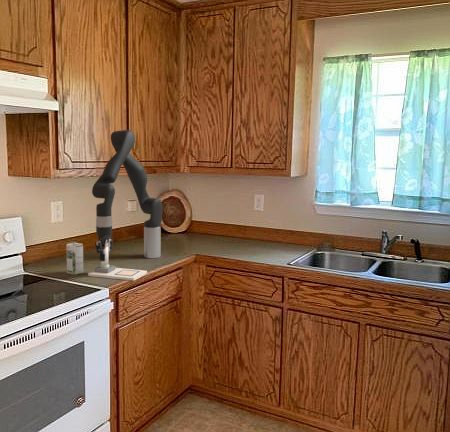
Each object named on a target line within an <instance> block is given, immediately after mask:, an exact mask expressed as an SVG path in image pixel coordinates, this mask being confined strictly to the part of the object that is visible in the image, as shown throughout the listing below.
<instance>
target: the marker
mask: <svg viewBox="0 0 450 432" xmlns="http://www.w3.org/2000/svg"><path fill="white" fill-rule="evenodd" d="M102 247H104V246H102ZM102 250H103V249H102ZM104 254H105V261H100V265H108V264H109V265H110V263H109V262H110V261H109V259H108V243H107V244H106V249H105V253H104Z"/></svg>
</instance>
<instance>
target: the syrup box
mask: <svg viewBox="0 0 450 432" xmlns="http://www.w3.org/2000/svg"><path fill="white" fill-rule="evenodd" d="M66 273H67V274H70V275H78V274H79V275H80V274H83V273H84V245H83V243H80V242H79V243H78V242H69V243H66Z"/></svg>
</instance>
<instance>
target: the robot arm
mask: <svg viewBox="0 0 450 432" xmlns="http://www.w3.org/2000/svg"><path fill="white" fill-rule="evenodd" d="M110 142H111V145H112V147H113V149H114V151H115V154H114V155H113V156H112V157H111V158H110V159H109V160H108V161H107V162H106V164H105V167H104V168H103V172H102V174H101V175H100V176H99V178H98V179H97V180H96V181H95V183H94V184H93V186H92V189H91V193H92V196H93V197H94V198H96V199H103V202H101V203H98V204H96V205H95V206H96V210H95V211H96V213H95V214H96V218H95V230H96V231H95V233H96V235H97V236H98V239H97V241H95V242H94V245H95V250H96V254H99V260H100V262H101V261H105V254H104V253H105V249H106V244H107V243H108V260H110V252H111V250H112V249H113V243H114V237H111V236H112V235H113V218H112V217H113V216H112V207H113V204H114V203H113V202H114V198H115V193H116V189H115V187H114V185H113V184H114V183H115V182H116V180H117V178H118V176H119V173H120V171H121V168H122V166H123V168H124V169H125V172H126V174H127V176H128V179H129V181H130V183H131V185H132V188H133V189H134V193H135V195H136V197H137V200H138V203H139V204H138V205H139V207H140V209H141V211H142V213H144V214H146V215H149V216H150V217H149V219H148V220H145V221H144V222H143V242H144V243H143V249H144V250H143V253H144V254H143V257H144V258H146V259H147V258H148V259H158V258H161V256H162V255H161V254H162V253H161V252H162V251H161V247H162V245H161V244H162V241H161V240H162V237H161V235H162V232H161V230H162V229H161V227H162V225H161V224H162V221H163V203H162V200H161V198H160V199H159V198H157V197H150V196H149V194H148V192H147V183H148V175H147V173H146V170H145V168H144V166H143V164H142V163H140V161H139V160H137V159H136V158H135V157H134V156H133V155H132V154H131V151H132V149H133V148H134V146H135V142H136V136H135V133H134V132H133V131H132V130H131V129H124V130H122V129H121V130H115V131H113V132H111V134H110ZM102 246H104V247H102ZM102 249H103V250H102Z"/></svg>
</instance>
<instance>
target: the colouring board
mask: <svg viewBox="0 0 450 432" xmlns="http://www.w3.org/2000/svg"><path fill="white" fill-rule="evenodd" d="M146 274H148V271H147V270H142V269H131V268H120V267H116V265H112V264H109V268H101V264H100V265H98V266H96V267H94V270H93V271H91V272H88V274H87V276H88V277H92V278H93V277H94V278H105V279H112V280H113V279H114V280H123V281H134V282H135V281H136V280H138V279H139V278H141V277H143V276H145V275H146Z"/></svg>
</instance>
